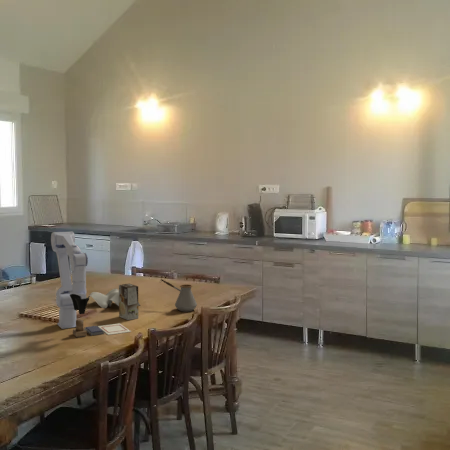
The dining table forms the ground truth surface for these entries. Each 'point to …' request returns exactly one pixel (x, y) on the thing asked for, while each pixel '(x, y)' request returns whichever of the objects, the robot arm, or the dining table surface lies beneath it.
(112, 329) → the sheet
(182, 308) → the coffee pot
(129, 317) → the coffee box
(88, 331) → the ink pad
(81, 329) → the stamp
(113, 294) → the sculpture
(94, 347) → the dining table surface
